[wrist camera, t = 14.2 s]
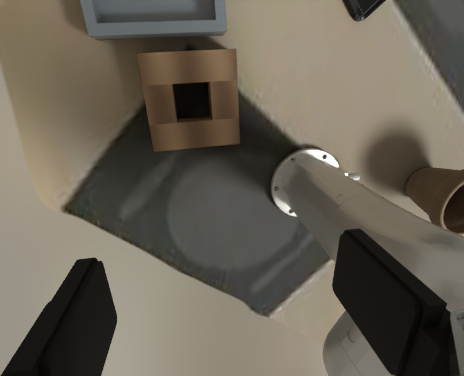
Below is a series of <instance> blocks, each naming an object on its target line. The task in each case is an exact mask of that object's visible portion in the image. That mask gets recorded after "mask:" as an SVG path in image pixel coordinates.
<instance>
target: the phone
mask: <svg viewBox="0 0 464 376" xmlns="http://www.w3.org/2000/svg"><path fill="white" fill-rule="evenodd" d="M385 1H386V0H344V2H345V4H346V6H347V8H348V10H349V12H350V14H351V16H352V18H353V20H355V21H361V20H364V19H365V18H367V17H368V16H369V15H370V14H371V13H372V12H373V11H375V10H376V9H377V8H378V7H379V6H380V5H381V4H382V3H383V2H385Z"/></svg>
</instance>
